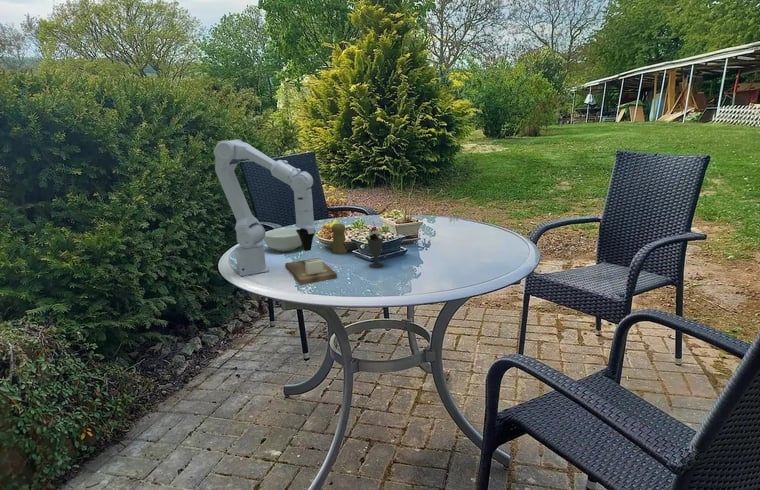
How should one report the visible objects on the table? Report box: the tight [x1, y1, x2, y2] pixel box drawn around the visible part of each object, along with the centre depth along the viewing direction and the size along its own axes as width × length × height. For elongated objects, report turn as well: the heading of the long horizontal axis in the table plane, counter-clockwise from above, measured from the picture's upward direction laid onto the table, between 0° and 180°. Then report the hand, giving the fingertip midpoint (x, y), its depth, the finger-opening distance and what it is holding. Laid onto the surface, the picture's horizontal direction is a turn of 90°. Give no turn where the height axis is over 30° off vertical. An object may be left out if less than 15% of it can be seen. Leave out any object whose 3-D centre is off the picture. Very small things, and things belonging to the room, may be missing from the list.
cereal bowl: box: [263, 227, 302, 252], centre depth 179 cm, size 17×17×7 cm
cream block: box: [305, 258, 324, 275], centre depth 144 cm, size 5×3×4 cm, turn 115°
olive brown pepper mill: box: [331, 223, 348, 255], centre depth 171 cm, size 6×6×11 cm
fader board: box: [284, 257, 338, 286], centre depth 150 cm, size 12×20×2 cm, turn 25°
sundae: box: [364, 221, 386, 269], centre depth 152 cm, size 7×7×15 cm
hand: (307, 250), depth 149 cm, fingers closed
